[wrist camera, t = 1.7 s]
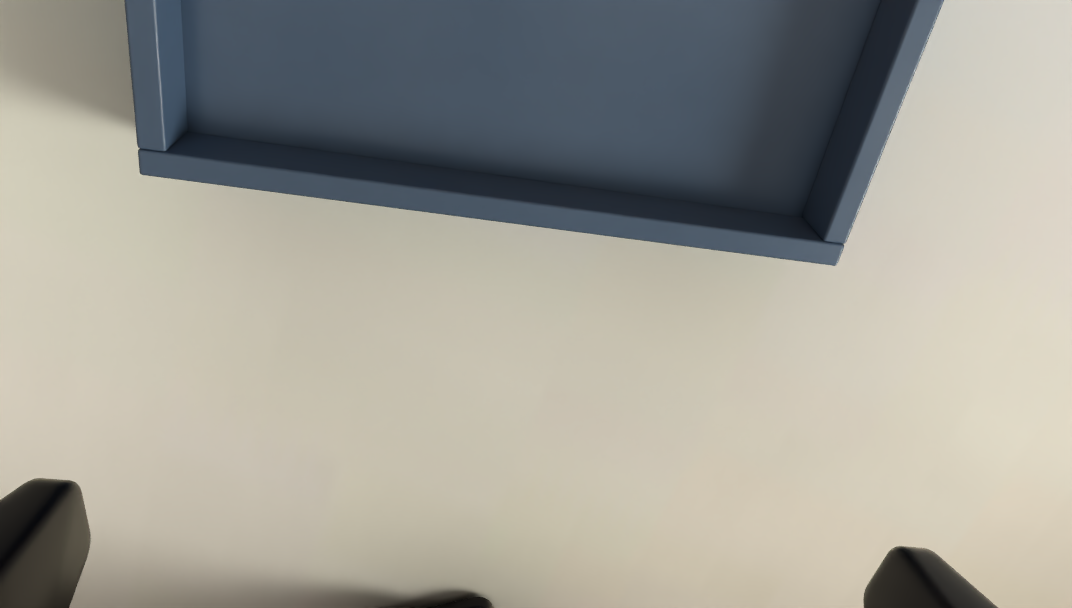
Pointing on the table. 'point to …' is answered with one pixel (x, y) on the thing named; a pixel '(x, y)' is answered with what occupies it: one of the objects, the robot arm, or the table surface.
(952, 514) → the table surface
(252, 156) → the blue rectangular tray
